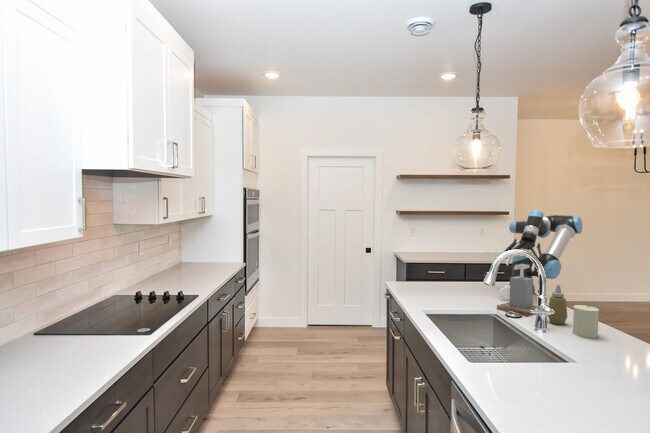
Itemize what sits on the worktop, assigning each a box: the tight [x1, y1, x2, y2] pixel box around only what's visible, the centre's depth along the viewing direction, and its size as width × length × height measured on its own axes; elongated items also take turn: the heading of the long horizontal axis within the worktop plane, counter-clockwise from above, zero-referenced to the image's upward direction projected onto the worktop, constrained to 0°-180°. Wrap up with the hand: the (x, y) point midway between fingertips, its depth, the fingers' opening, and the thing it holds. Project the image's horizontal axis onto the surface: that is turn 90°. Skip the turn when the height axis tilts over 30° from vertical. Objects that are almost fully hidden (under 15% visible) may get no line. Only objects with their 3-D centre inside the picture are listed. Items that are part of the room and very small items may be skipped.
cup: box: [499, 284, 510, 302], centre depth 221 cm, size 7×10×8 cm
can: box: [572, 304, 600, 339], centre depth 165 cm, size 9×9×12 cm
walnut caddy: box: [496, 301, 538, 317], centre depth 201 cm, size 18×16×2 cm
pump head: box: [514, 264, 529, 279], centre depth 199 cm, size 10×4×10 cm, turn 125°
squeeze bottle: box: [547, 284, 568, 326], centre depth 179 cm, size 8×8×18 cm
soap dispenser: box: [508, 276, 534, 309], centre depth 201 cm, size 8×8×15 cm
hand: (519, 267), depth 217 cm, fingers open, 13 cm apart
